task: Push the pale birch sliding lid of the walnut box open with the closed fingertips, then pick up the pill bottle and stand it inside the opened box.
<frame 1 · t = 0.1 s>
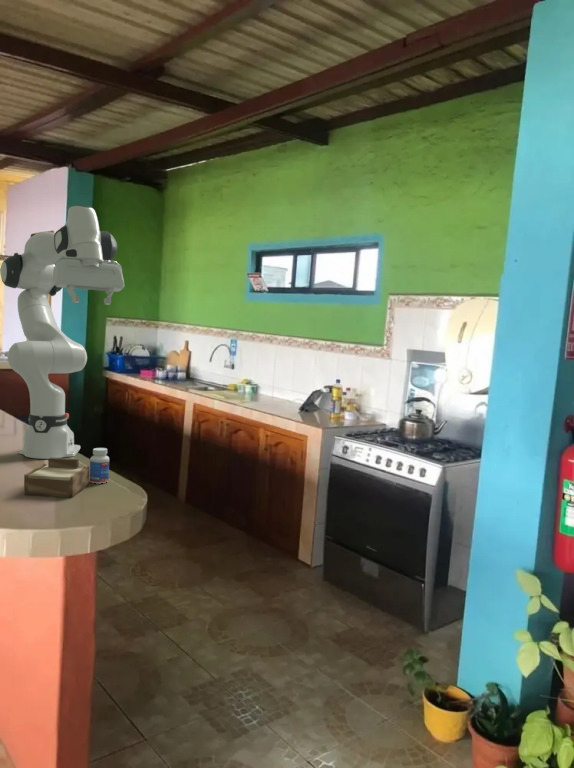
hand: (92, 303, 184), 52 cm above the countertop, tool tilted 20°, fingers open, 8 cm apart
lid: (58, 467, 175), point 6 cm above the countertop, slide at 0.0 cm
lid box: (57, 490, 175), on the countertop
pill bottle: (99, 482, 186), on the countertop
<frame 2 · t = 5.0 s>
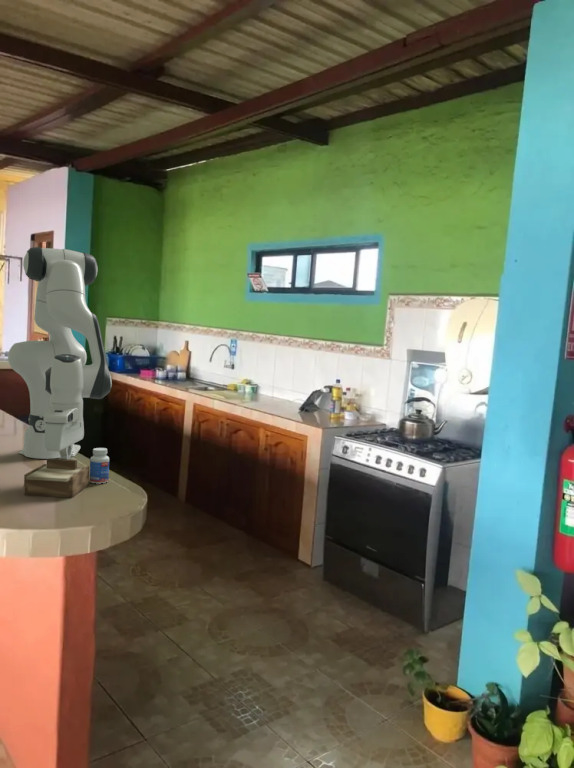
hand: (65, 460, 179), 7 cm above the countertop, tool pointing down, fingers closed
lid: (56, 468, 173), point 6 cm above the countertop, slide at 1.3 cm, touching gripper
everything else where it was.
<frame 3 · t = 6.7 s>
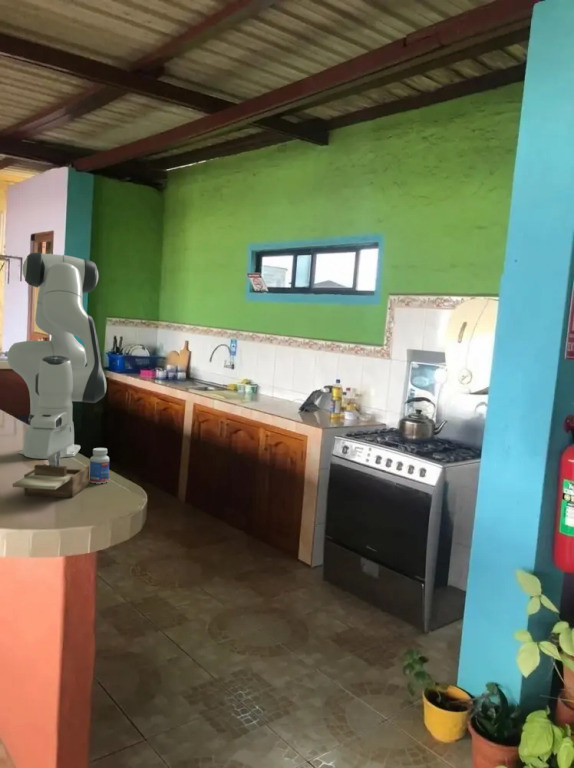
hand: (54, 467, 172), 7 cm above the countertop, tool pointing down, fingers closed
lid: (44, 475, 165), point 6 cm above the countertop, slide at 9.2 cm, touching gripper
everything else where it was.
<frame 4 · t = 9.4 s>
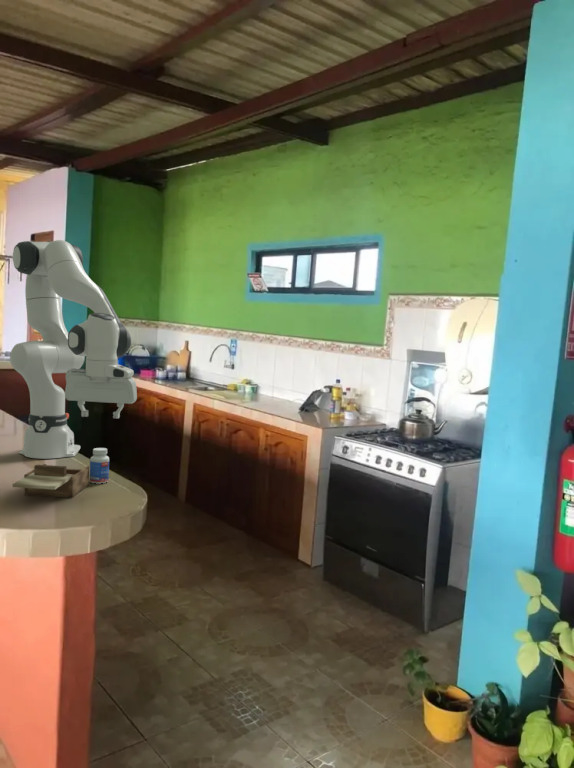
hand: (100, 417, 184), 19 cm above the countertop, tool pointing down, fingers open, 8 cm apart
lid: (44, 475, 165), point 6 cm above the countertop, slide at 9.3 cm
everything else where it was.
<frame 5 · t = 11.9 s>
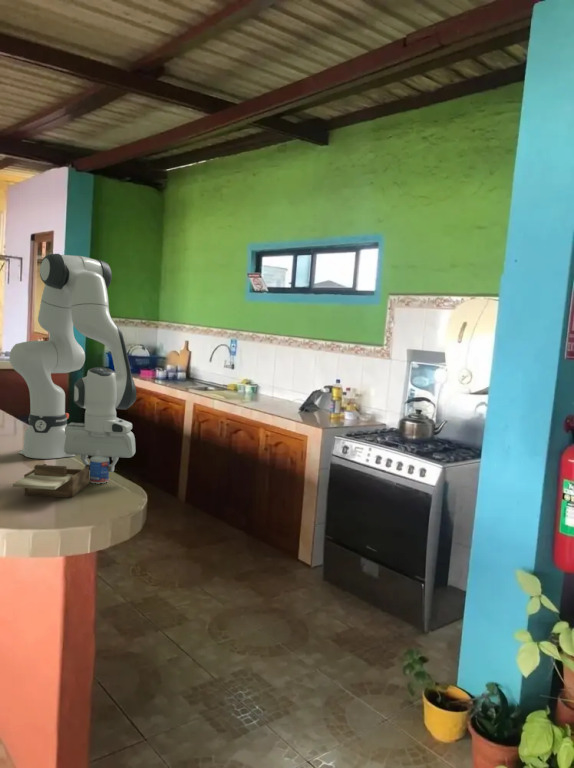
hand: (99, 470, 186), 3 cm above the countertop, tool pointing down, fingers closed on pill bottle, 5 cm apart
pill bottle: (99, 482, 186), on the countertop, touching gripper
everything else where it was.
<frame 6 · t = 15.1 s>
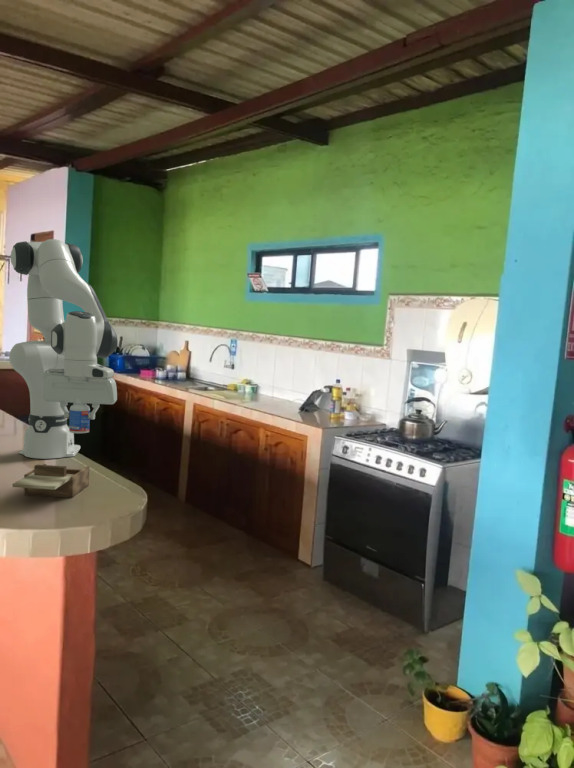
hand: (79, 418, 179), 19 cm above the countertop, tool pointing down, fingers closed on pill bottle, 5 cm apart
pill bottle: (79, 432, 179), point 15 cm above the countertop, touching gripper
everything else where it was.
when the fingers open (6 cm above the countertop, at t = 18.6 s): pill bottle stays where it is, resting on lid box.
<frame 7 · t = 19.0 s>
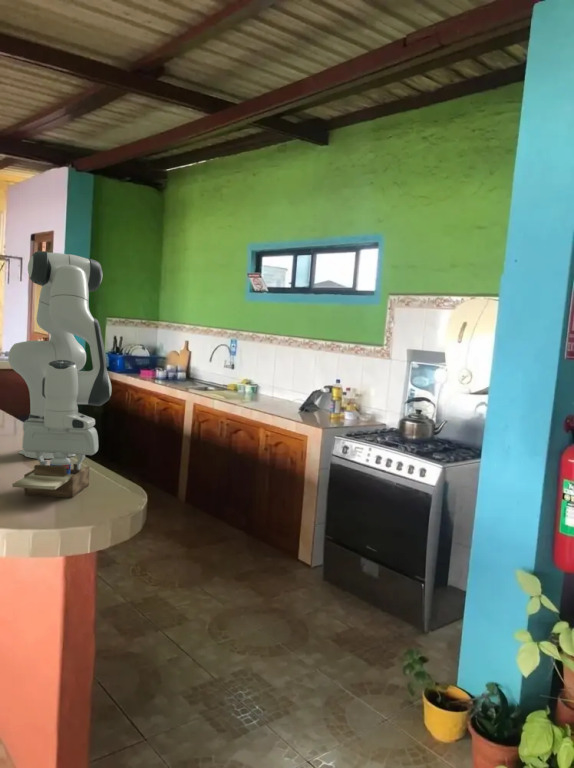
hand: (60, 468, 176), 6 cm above the countertop, tool pointing down, fingers open, 8 cm apart
pill bottle: (59, 486, 177), point 1 cm above the countertop, touching lid box
everything else where it was.
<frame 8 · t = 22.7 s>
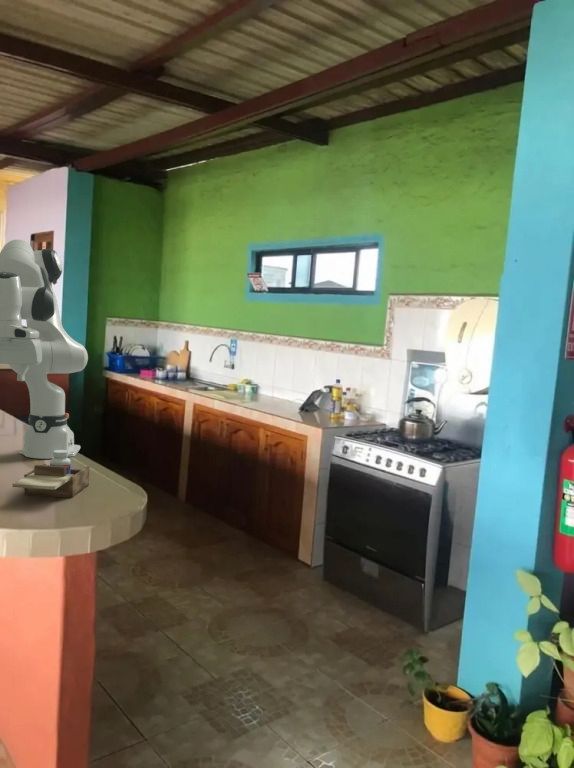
hand: (4, 379, 179), 29 cm above the countertop, tool pointing down, fingers open, 8 cm apart
nothing on the countertop moved.
at the end: lid slide at 9.3 cm; pill bottle inside the target area on the lid box (0.4 cm from its centre), point 0.6 cm above the lid box's base; pill bottle tilted 0° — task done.
